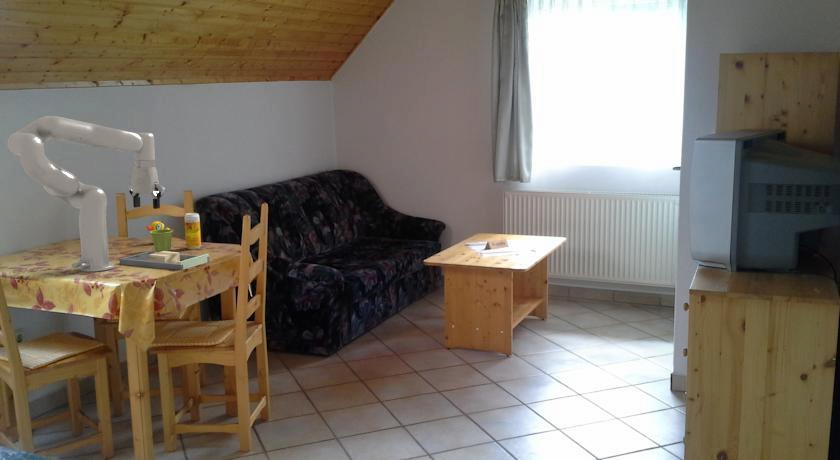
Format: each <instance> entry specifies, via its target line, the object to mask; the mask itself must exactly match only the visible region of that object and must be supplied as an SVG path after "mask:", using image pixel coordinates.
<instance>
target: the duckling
mask: <svg viewBox="0 0 840 460" xmlns="http://www.w3.org/2000/svg"><path fill="white" fill-rule="evenodd" d="M146 229H147V231H149V232H150V231H153V230H161V229H170V228H169V227H165V224H164V223H162V222H161V221H157V220H156V221H153V222H151V225H148V224H147V225H146ZM150 239H151V241H152V242H153V238H152V236H151V235H150Z"/></svg>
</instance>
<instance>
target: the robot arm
mask: <svg viewBox="0 0 840 460" xmlns="http://www.w3.org/2000/svg"><path fill="white" fill-rule="evenodd" d="M50 140H52V141H53V140H54V141H58V142H59V141H60V142H64V143H70V144H74V145H80V146H86V147H91V148H104V149H112V150H115V151H118V152H121V153H133V154H134V161H132V162H133V165H134V167H133V169H132V172H131V173H132V174H131V183H130V184H128V185H127V189H128V192H129V194H130V195H131V198H132V202H133V203H132V204H133V208H135V209H136V208H140V207H141V197H140V195H141V194H143V195H145V194H146V195H150V194H151V195H152V197H153V199H152V208H153V209H154V210H158V209H160V208H161V203H160V202H161V201H160V200H161V198H162V196H163V195H164V193H165V187H164V186H163V185H161V184H160V181H159V174H158V170H157V168H156V156H155V155H156V153H155V151H156V150H155V148H156V147H155V135H154V134H153V133H152V132H132V131H127V130H122V129H117V128H114V127H113V128H112V127H108V126H103V125H100V124H95V123H91V122H87V121H86V122H85V121H80V120H77V119H72V118H67V117H62V116H59V115H58V116H56V115H45V116H42V117H40V118H38V119H36V120H34V121H32V122H31V123H29V124H27V125H26V126H23V127H22V128H20V129H19V130H17V131H15V132H13V133H12V134H11V135H10V136H9V137H8V139H7V148H8V151H10V153H12V154H13V155H15V156H18V157H19V159H20V163H21V164H20V165H21V166H22V169H23V170H24V172H25V173H26V175H28V176H29V177H30V178H31V179H32V180H35V181H36V182H38V183H40V184H41V185H42V187H43V189H44V190H45V192H47V193H48V194H49V195H51V196H52V197H54V198H57V199H58V200H60V201H61V202H63V203H65V204H67V205H69V206H71V207H73V208H75V209H79V215H78V229H79V238H80V240H79V241H80V249H81V258H79V260H78V261H77V262H74V263H73V262H72V264H71V267H72V268H73V269H78V271H79V272H85V273H87V272H89V273H93V272H103V271H108V270H111V269H114V268H115V264H114V262H110V251H109V238H108V227H107V224H108V223H107V207H108V198H107V195H106V192H105V191H104V190H103V189H102V188H101V187H99V186H96V185H91V184H86V183H83V182H81V181H79V179H78V177H77V176H76V175H75V174H74V173H72V172H70V171H68V170H66V169H65V168H62V167H61V166H59V165H58V164H55V162H53V161H51V160H50V159H49V158H48V157H47V156H46V154H45V148H44V147H45V146H44V144H45V143H47V142H48V141H50Z"/></svg>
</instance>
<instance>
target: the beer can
mask: <svg viewBox="0 0 840 460" xmlns="http://www.w3.org/2000/svg"><path fill="white" fill-rule="evenodd" d="M200 220H201V219H200V214H199V213H197V212H189V213H185V215H184V230H185V246H186V248H187V250H199V249H200V248H201V247H202V238H201V237H202V236H201V221H200Z"/></svg>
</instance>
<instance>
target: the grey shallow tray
mask: <svg viewBox="0 0 840 460" xmlns="http://www.w3.org/2000/svg"><path fill="white" fill-rule="evenodd" d="M154 253H158V252H155V251H153V250H152V251H151V250H149V251H144V252H142V253H138V254H133V255H129V256H126V257H123V258H119V265H127V266H135V267H137V266H138V267H147V268H157V269H158V268H159V269H165V270H166V269H168V270H176V271H184V270H186V269H189V268H193V267H196V266H200V265H203V264H206V263H209V262H210V253H205V254H202V255H197V254H195V255H194V254H185V253H179V254H180V262H177V263H165V262H155V261H149V255H150V254H154Z"/></svg>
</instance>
